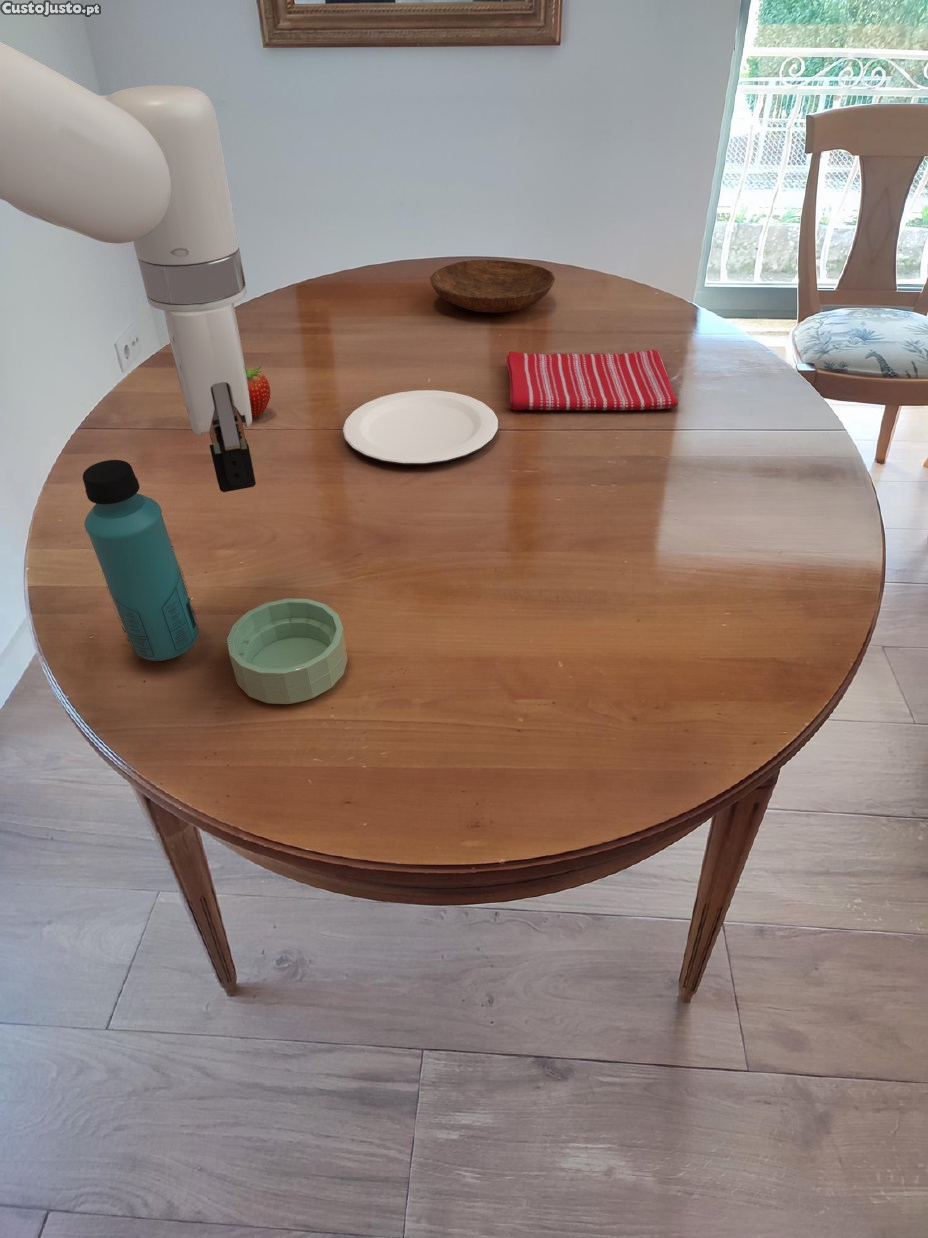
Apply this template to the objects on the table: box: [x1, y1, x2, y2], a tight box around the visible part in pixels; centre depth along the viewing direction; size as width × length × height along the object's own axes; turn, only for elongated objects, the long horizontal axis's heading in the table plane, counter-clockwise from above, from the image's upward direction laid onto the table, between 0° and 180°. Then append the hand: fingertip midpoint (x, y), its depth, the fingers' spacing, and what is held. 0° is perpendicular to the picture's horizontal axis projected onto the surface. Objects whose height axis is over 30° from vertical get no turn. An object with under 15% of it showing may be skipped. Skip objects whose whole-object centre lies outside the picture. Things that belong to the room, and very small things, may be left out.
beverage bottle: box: [82, 459, 200, 662], centre depth 74 cm, size 6×7×20 cm
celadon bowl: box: [226, 597, 349, 705], centre depth 77 cm, size 10×10×4 cm
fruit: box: [244, 362, 271, 419], centre depth 116 cm, size 5×5×8 cm
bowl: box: [429, 259, 556, 314], centre depth 148 cm, size 20×22×5 cm
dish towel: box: [506, 349, 679, 411], centre depth 122 cm, size 17×24×3 cm
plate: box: [342, 389, 499, 466], centre depth 113 cm, size 21×21×2 cm
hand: (237, 484), depth 76 cm, fingers closed
